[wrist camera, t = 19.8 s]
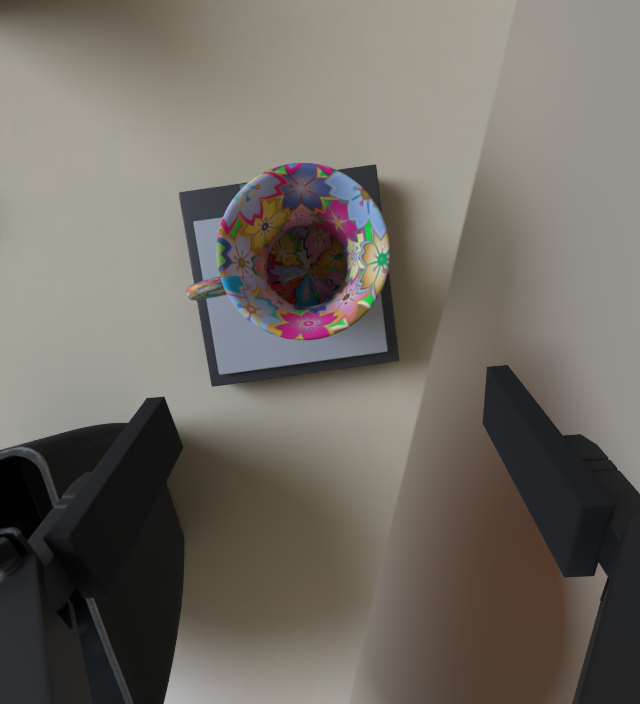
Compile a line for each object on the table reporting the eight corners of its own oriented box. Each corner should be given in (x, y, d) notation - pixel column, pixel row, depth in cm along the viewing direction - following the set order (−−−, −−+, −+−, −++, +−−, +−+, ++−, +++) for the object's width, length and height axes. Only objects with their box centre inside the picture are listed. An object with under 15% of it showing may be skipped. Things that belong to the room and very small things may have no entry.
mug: (347, 197, 31) (363, 139, 20) (379, 311, 32) (410, 312, 21) (202, 242, 31) (142, 206, 20) (238, 353, 32) (198, 375, 21)
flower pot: (41, 616, 38) (-172, 852, 22) (-29, 435, 36) (-322, 541, 20) (227, 566, 38) (156, 767, 21) (166, 381, 36) (36, 441, 19)
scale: (370, 176, 34) (377, 160, 31) (392, 356, 36) (401, 361, 32) (190, 202, 34) (174, 189, 31) (220, 380, 36) (208, 388, 32)
